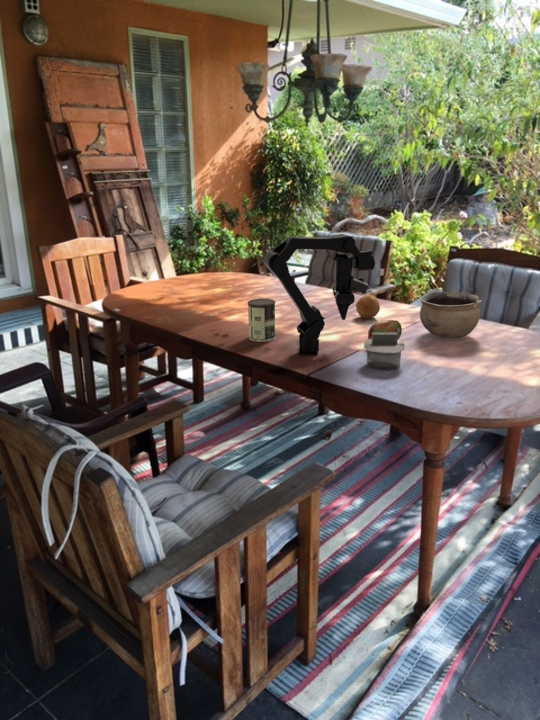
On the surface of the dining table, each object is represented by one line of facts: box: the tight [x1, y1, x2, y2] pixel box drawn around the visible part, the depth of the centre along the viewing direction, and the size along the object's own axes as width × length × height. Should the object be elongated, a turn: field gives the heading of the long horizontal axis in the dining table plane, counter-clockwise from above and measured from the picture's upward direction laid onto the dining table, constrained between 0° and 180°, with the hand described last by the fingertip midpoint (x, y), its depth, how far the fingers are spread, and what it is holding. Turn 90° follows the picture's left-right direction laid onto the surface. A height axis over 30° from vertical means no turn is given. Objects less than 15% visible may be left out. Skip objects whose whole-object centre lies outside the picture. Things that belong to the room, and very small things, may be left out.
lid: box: [363, 332, 405, 354], centre depth 197 cm, size 13×13×5 cm
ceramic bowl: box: [419, 291, 482, 340], centre depth 226 cm, size 22×22×15 cm
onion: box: [355, 293, 381, 320], centre depth 252 cm, size 10×10×10 cm
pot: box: [366, 350, 402, 371], centre depth 201 cm, size 11×16×6 cm
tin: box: [367, 319, 403, 340], centre depth 219 cm, size 15×3×8 cm, turn 125°
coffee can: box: [247, 298, 276, 343], centre depth 226 cm, size 10×10×14 cm
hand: (342, 316), depth 212 cm, fingers open, 9 cm apart
